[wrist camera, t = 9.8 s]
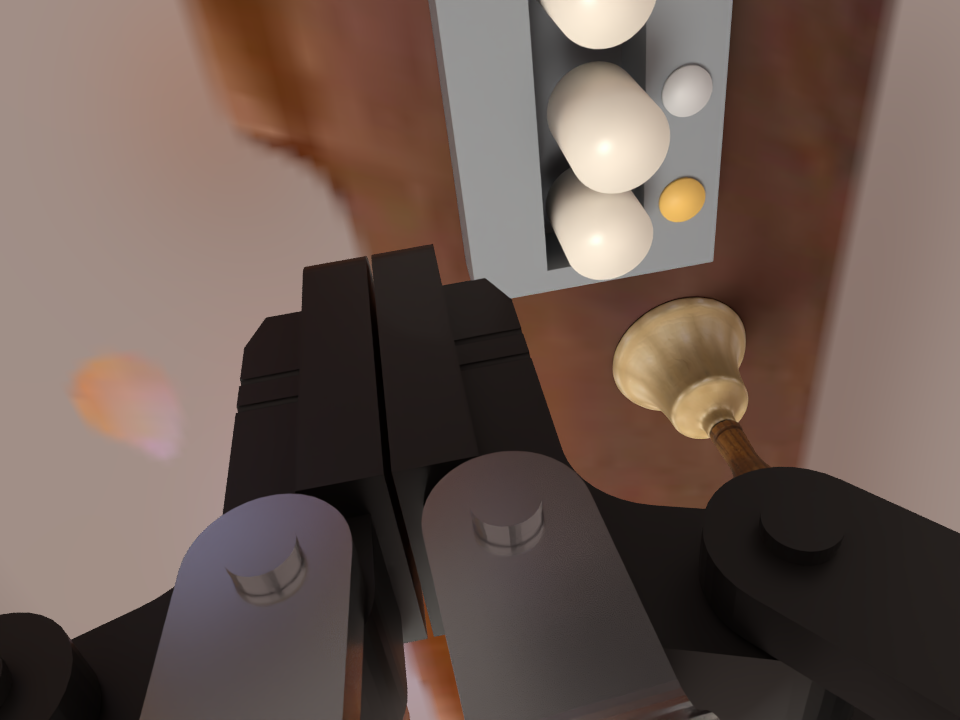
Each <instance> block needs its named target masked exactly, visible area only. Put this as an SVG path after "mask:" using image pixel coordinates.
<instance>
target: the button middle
mask: <svg viewBox="0 0 960 720" xmlns="http://www.w3.org/2000/svg"><path fill="white" fill-rule="evenodd" d="M547 121H548V126H549V129H550V131H551V133H552V135H553V137H554V139H555V140H556V142H557V144H558V145H559V147H560V149H561V151H562V152H563V154H564V156H565V157H566V159H567V161H568V163H569V164H570V166H571V168H572V170H573V171H574V173H575V175H576V176H577V178H578V179H579V180H580V181H581V182H582V183H583V184H584V185H585V186H587V187H589V188H590V189H592V190H595V191H597V192H601V193H608V194H615V193H622V192H626V191H629V190H632V189H634V188H636V187H638V186H640V185H641V184H643V183H645V182H646V181H647V180H648V179H650V178H651V177H652V176H653V175H654V174H655V173H656V171H657V170H658V169H659V167H660V166H661V164H662V163H663V161H664V159H665V157H666V154H667V152H668V148H669V144H670V129H669V124H668V121H667V118H666V116H665V114H664V113H663V111H662V110H661V109H660V107H659V106H658V105H657V104H656V103H655V102H654V101H653V100H652V99H651V98H650V97H649V95H648V94H647V93H646V92H645V91H644V90H643V89H642V88H641V87H640V86H639V85H638V84H637V82H636V81H635V80H634V79H633V78H632V77H631V76H630V75H629V74H628V73H627V72H626V71H625V70H624V69H622V68H621V67H619V66H617V65H616V64H613V63H610V62H604V61H595V62H589V63H585V64H582V65H580V66H578V67H576V68H574V69H572V70H571V71H569V72H568V73H567V74H566V75H565V76H563V77H562V79H561V80H560V81H559V82H558V83H557V85H556V86H555V88H554V90H553V91H552V93H551V96H550V98H549V102H548V107H547Z"/></svg>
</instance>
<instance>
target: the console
mask: <svg viewBox="0 0 960 720" xmlns="http://www.w3.org/2000/svg"><path fill="white" fill-rule="evenodd" d="M428 1H429V8H430V15H431V22H432V29H433V36H434V43H435V50H436V57H437V63H438V70H439V77H440V84H441V91H442V98H443V105H444V112H445V119H446V126H447V133H448V140H449V147H450V154H451V161H452V168H453V175H454V182H455V189H456V195H457V202H458V209H459V216H460V223H461V230H462V237H463V244H464V251H465V258H466V264H467V268H468V271H469V275H470V279H471V280H476V279H482V278H486V279H487V280H488V281H490V282H491V283H492V284H493V285H495V286H496V287H497V288H498V289H499V290H501V291H502V292H503V293H504V294H506V295H507V296H508V297H509V298H515V297H521V296H526V295H532V294H537V293H543V292H548V291H553V290H559V289H564V288H570V287H575V286H581V285H586V284H592V283H597V282H603V281H608V280H614V279H619V278H625V277H630V276H636V275H641V274H647V273H652V272H658V271H663V270H669V269H674V268H680V267H685V266H691V265H696V264H702V263H707V262H713V255H714V242H715V229H716V215H717V202H718V189H719V176H720V162H721V149H722V136H723V123H724V109H725V96H726V83H727V69H728V56H729V43H730V30H731V16H732V3H733V0H656V2H655V6H654V8H653V10H652V13H651V15H650V16H649V18H648V20H647V21H646V23H645V24H644V25H643V27H642V28H641V29H640V30H639V31H638V32H637V33H636V34H635V35H634V36H632V37H631V38H630V39H628V40H627V41H625V42H623V43H621V44H619V45H617V46H614V47H611V48H606V49H591V48H586V47H583V46H580V45H578V44H576V43H574V42H573V41H572V40H570V39H569V38H568V37H567V36H566V35H565V34H564V33H563V32H562V31H561V29H560V28H559V27H558V26H557V25H556V23H555V22H554V21H553V20H552V18H551V17H550V16H549V15H548V14H547V12H546V11H545V10H544V9H543V8H542V6H541V5H540V4H539V2H538V1H537V0H428ZM595 61H604V62H610V63H613V64H616V65H617V66H619V67H621V68H622V69H624V70H625V71H626V72H627V73H628V74H629V75H630V76H631V77H632V78H633V79H634V80H635V81H636V82H637V84H638V85H639V86H640V87H641V88H642V89H643V90H644V91H645V92H646V93H647V94H648V95H649V97H650V98H651V99H652V100H653V101H654V102H655V103H656V104H657V105H658V106H659V107H660V109H661V110H662V111H663V113H664V114H665V116H666V118H667V121H668V124H669V129H670V144H669V148H668V152H667V154H666V157H665V159H664V161H663V163H662V164H661V166H660V167H659V169H658V170H657V171H656V173H655V174H654V175H653V176H652V177H651V178H650V179H648V180H647V181H646V182H645V183H643V184H641V185H640V186H638V187H636V188H634V189H632V190H631V191H632V192H633V194H634V195H635V197H636V198H637V199H638V201H639V202H640V204H641V205H642V207H643V208H644V210H645V211H646V213H647V214H648V216H649V217H650V219H651V222H652V226H653V240H652V244H651V247H650V249H649V251H648V253H647V255H646V256H645V258H644V259H643V260H642V261H641V263H640V264H638V265H637V266H636V267H635V268H634V269H633V270H631V271H630V272H628V273H626V274H624V275H622V276H620V277H617V278H613V279H608V280H595V279H590V278H587V277H584V276H582V275H581V274H579V273H578V272H576V271H575V270H574V269H573V268H572V266H571V265H570V263H569V261H568V259H567V257H566V255H565V253H564V251H563V249H562V246H561V244H560V242H559V240H558V238H557V236H556V234H555V232H554V229H553V227H552V225H551V223H550V221H549V219H548V216H547V213H546V198H547V195H548V192H549V190H550V188H551V186H552V184H553V183H554V181H555V180H556V179H557V178H558V177H559V176H560V175H561V174H562V173H563V172H564V171H566V170H567V169H569V168H571V166H570V164H569V163H568V161H567V159H566V157H565V156H564V154H563V152H562V151H561V149H560V147H559V145H558V144H557V142H556V140H555V139H554V137H553V135H552V133H551V131H550V129H549V126H548V121H547V107H548V102H549V98H550V96H551V93H552V91H553V90H554V88H555V86H556V85H557V83H558V82H559V81H560V80H561V79H562V77H563V76H565V75H566V74H567V73H568V72H569V71H571V70H572V69H574V68H576V67H578V66H580V65H582V64H585V63H589V62H595Z"/></svg>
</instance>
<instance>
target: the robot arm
mask: <svg viewBox="0 0 960 720" xmlns="http://www.w3.org/2000/svg"><path fill="white" fill-rule="evenodd" d="M372 269H373V276H372V272H371V268H370V265H369V261H368V258H367V256H364V257H359V258H353V259H347V260H342V261H336V262H330V263H325V264H319V265H314V266H309V267H304V269H303V287H302V311H300V312H295V313H290V314H284V315H278V316H273V317H267V318H266V319H265V320H264V321H263V323H262V324H261V326H260V327H259V328H258V330H257V331H256V332H255V334H254V335H253V337H252V338H251V339H250V341H249V342H248V344H247V345H246V347H245V348H244V354H243V361H242V369H241V377H240V381H241V386H239V392H238V401H237V409H238V413H236V416H235V424H234V431H233V439H232V447H231V455H230V462H229V470H228V478H227V486H226V493H225V501H224V509H223V515H222V516H220V518H218V519H217V520H216V521H214V522H213V523H211V524H210V525H209V526H208V527H207V528H206V529H205V530H204V531H203V532H202V533H201V534H200V535H199V536H198V537H197V538H196V540H195V541H194V542H193V544H192V545H191V546H190V547H189V549H188V551H187V553H186V554H185V557H184V558H183V560H182V563H181V566H180V568H179V571H178V575H177V578H176V582H175V586H174V587H173V588H172V589H170V590H169V591H167V592H166V593H164V594H163V595H162V596H160V597H158V598H157V599H155V600H153V601H151V602H149V603H147V604H145V605H143V606H142V607H140V608H138V609H136V610H133V611H131V612H129V613H127V614H125V615H123V616H120V617H118V618H116V619H114V620H112V621H110V622H108V623H106V624H103V625H101V626H99V627H97V628H95V629H93V630H91V631H89V632H86V633H85V634H82V635H80V636H78V637H76V638H74V639H72V640H71V639H70V638H69V637H68V635H67V634H66V633H65V631H64V630H63V629H62V627H61V626H59V625H58V624H57V623H56V622H54V621H53V620H51V619H49V618H47V617H44V616H42V615H38V614H33V613H9V614H2V615H0V720H410V717H409V712H408V708H407V679H406V668H405V657H404V646H403V643H408V642H413V641H418V640H422V639H427V630H426V621H425V613H424V604H423V596H422V591H423V595H424V599H425V603H426V607H427V611H428V615H429V619H430V622H431V626H432V630H433V634H434V637H435V636H440V635H446V639H447V644H448V648H449V653H450V657H451V661H452V666H453V670H454V675H455V679H456V683H457V688H458V692H459V697H460V701H461V705H462V710H463V714H464V719H465V720H960V533H958V532H956V531H953V530H951V529H949V528H947V527H944V526H942V525H940V524H938V523H936V522H933V521H931V520H929V519H927V518H925V517H922V516H920V515H918V514H916V513H914V512H911V511H909V510H907V509H905V508H902V507H900V506H898V505H896V504H894V503H891V502H889V501H887V500H885V499H883V498H880V497H878V496H876V495H874V494H871V493H869V492H867V491H865V490H863V489H860V488H858V487H856V486H854V485H852V484H849V483H847V482H845V481H843V480H841V479H838V478H835V477H833V476H830V475H828V474H825V473H821V472H817V471H813V470H809V469H802V468H795V467H771V468H762V469H758V470H754V471H750V472H747V473H744V474H742V475H739V476H737V477H735V478H733V479H731V480H730V481H728V482H727V483H725V484H724V485H723V486H722V487H720V488H719V489H718V490H717V491H716V492H715V493H714V495H713V496H712V498H711V499H710V501H709V502H708V504H707V507H706V509H697V508H683V507H669V506H655V505H647V504H639V503H634V502H630V501H626V500H622V499H619V498H616V497H614V496H611V495H608V494H606V493H604V492H602V491H601V490H599V489H597V488H595V487H593V486H592V485H591V484H589V483H588V482H586V481H585V480H584V479H582V478H581V477H580V476H579V475H578V474H577V473H576V472H575V471H574V469H573V468H572V467H571V465H570V464H569V462H568V461H567V459H566V457H565V455H564V453H563V450H562V447H561V444H560V441H559V439H558V436H557V433H556V430H555V427H554V424H553V421H552V418H551V415H550V412H549V409H548V406H547V403H546V400H545V397H544V394H543V391H542V388H541V385H540V382H539V379H538V376H537V373H536V371H535V368H534V365H533V362H532V359H531V358H530V354H529V350H528V347H527V344H526V341H525V338H524V335H523V334H522V331H521V326H520V323H519V320H518V317H517V314H516V311H515V308H514V305H513V303H512V300H511V298H509V297H508V296H507V295H506V294H504V293H503V292H502V291H501V290H499V289H498V288H497V287H496V286H495V285H493V284H492V283H491V282H490V281H488V280H487V279H486V278H482V279H476V280H471V281H465V282H460V283H454V284H449V285H443V286H442V283H441V279H440V274H439V270H438V265H437V260H436V256H435V251H434V247H433V244H431V245H425V246H419V247H414V248H408V249H402V250H397V251H391V252H385V253H380V254H374V255H372ZM373 279H374V281H373Z"/></svg>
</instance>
